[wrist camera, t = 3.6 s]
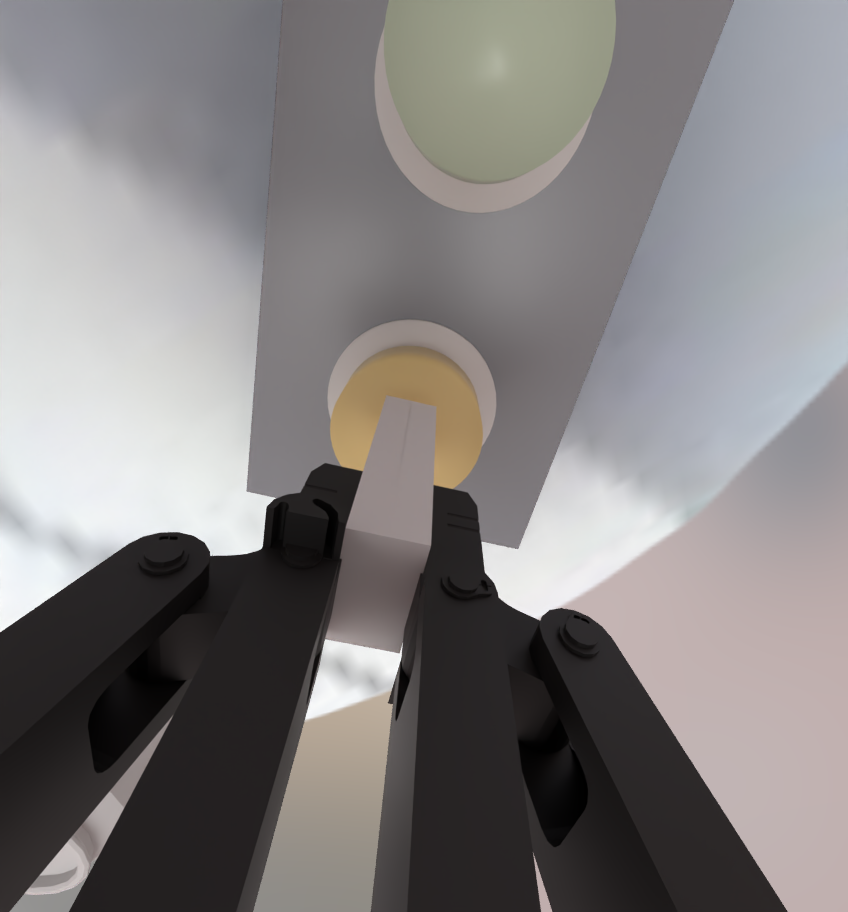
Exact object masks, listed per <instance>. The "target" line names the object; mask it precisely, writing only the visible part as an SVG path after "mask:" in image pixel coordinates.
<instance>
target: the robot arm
mask: <svg viewBox="0 0 848 912" xmlns="http://www.w3.org/2000/svg"><path fill="white" fill-rule="evenodd" d="M435 433H436V406H432V405H427V404H423V403H419V402H414V401H410V400H405V399H401V398H397V397H392V396H388V395H386V398H385V402H384V405H383V408H382V411H381V415H380V418H379V421H378V424H377V428H376V431H375V434H374V437H373V440H372V444H371V447H370V450H369V453H368V457H367V460H366V463H365V466H364V470H363V471H360V470H355V469H351V468H346V467H341V466H337V465H332V464H328V463H324V464H322V465H321V466H319V467H318V468H316V469H314V470H313V471H311V473H310V475H309V477H308V479H307V481H306V482H305V485H304V486H303V488H302V490H301V492H300V493H294V494H286V495H284V496H281V497H279V498H277V499H274V500H273V501H272V502H271V503H270V504H269V505H268V506H267V509H266V519H265V530H264V541H263V547H262V549H261V550H259V551H256V552H252V553H248V554H243V555H232V556H210V551H209V549H208V548H207V546H206V545H205V543H204V542H203V541H201V540H199V539H198V538H196V537H194V536H192V535H187V534H183V533H179V532H168V533H157V534H153V535H148V536H144V537H142V538H140V539H138V540H136V541H134V542H132V543H130V544H128V545H126V546H125V547H124V548H122V549H121V550H119V551H118V552H116V553H115V554H113V555H112V556H111V557H109V558H108V559H106V560H105V561H103V562H102V563H100V564H99V565H97V566H96V567H95V568H93V569H92V570H90V571H89V572H87V573H86V574H84V575H83V576H81V577H80V578H79V579H77V580H76V581H74V582H73V583H71V584H70V585H68V586H67V587H66V588H64V589H63V590H61V591H60V592H58V593H57V594H55V595H54V596H52V597H51V598H50V599H48V600H47V601H45V602H44V603H42V604H41V605H39V606H38V607H37V608H35V609H34V610H32V611H31V612H29V613H28V614H26V615H25V616H23V617H22V618H21V619H19V620H18V621H16V622H15V623H13V624H12V625H10V626H9V627H7V628H6V629H5V630H3V631H2V632H0V912H9V911H10V910H11V909H12V908H13V907H14V905H15V904H16V903H17V901H19V899H20V898H21V897H22V896H23V895H24V893H25V892H26V891H27V890H28V889H29V887H30V886H31V885H32V884H33V883H34V881H35V880H36V879H37V878H38V877H39V875H40V874H41V873H42V872H43V871H44V869H45V868H46V867H47V866H48V865H49V863H50V862H51V861H52V860H53V859H54V857H55V856H56V855H57V854H58V853H59V851H60V850H61V849H62V848H63V847H64V845H65V844H66V843H67V842H68V841H69V839H70V838H71V837H72V836H73V835H74V834H75V832H76V831H77V830H78V829H79V828H80V826H81V825H82V824H83V823H84V822H85V820H86V819H87V818H88V817H89V816H90V814H91V813H92V812H93V811H94V810H95V808H96V807H97V806H98V805H99V804H100V802H101V801H102V800H103V799H104V798H105V796H106V795H107V794H108V793H109V792H110V790H111V789H112V788H113V787H114V786H115V784H116V783H117V782H118V781H119V780H120V778H121V777H122V776H123V775H124V774H125V772H126V771H127V770H128V769H129V768H130V766H131V765H132V764H133V763H134V762H135V760H136V759H137V758H138V757H139V756H140V754H141V753H142V752H143V751H144V750H145V748H146V747H147V746H148V745H149V744H150V742H151V741H152V740H153V739H154V738H155V736H156V735H157V734H158V733H159V732H160V730H161V729H162V728H163V727H164V726H165V724H166V723H167V722H168V721H169V720H170V718H171V717H172V716H173V717H172V719H171V721H170V722H169V724H168V726H167V728H166V730H165V732H164V734H163V736H162V738H161V739H160V741H159V743H158V745H157V747H156V749H155V751H154V753H153V755H152V756H151V758H150V760H149V762H148V764H147V766H146V768H145V770H144V771H143V773H142V775H141V777H140V779H139V781H138V783H137V785H136V787H135V788H134V790H133V792H132V794H131V796H130V798H129V800H128V802H127V804H126V805H125V807H124V809H123V811H122V813H121V815H120V817H119V819H118V820H117V822H116V824H115V826H114V828H113V830H112V832H111V834H110V836H109V837H108V839H107V841H106V843H105V845H104V847H103V849H102V851H101V853H100V854H99V856H98V858H97V860H96V862H95V864H94V866H93V868H92V870H91V871H90V873H89V875H88V877H87V879H86V881H85V883H84V885H83V886H82V888H81V890H80V892H79V894H78V896H77V898H76V900H75V902H74V903H73V905H72V907H71V909H70V911H69V912H253V910H254V906H255V902H256V899H257V895H258V891H259V887H260V883H261V880H262V876H263V873H264V869H265V865H266V861H267V858H268V854H269V850H270V847H271V843H272V839H273V836H274V831H275V828H276V824H277V821H278V816H279V813H280V810H281V806H282V802H283V798H284V794H285V791H286V787H287V784H288V780H289V776H290V772H291V768H292V765H293V761H294V757H295V754H296V750H297V746H298V742H299V739H300V735H301V732H302V728H303V724H304V720H305V717H306V713H307V709H308V706H309V702H310V698H311V695H312V691H313V687H314V683H315V680H316V676H317V672H318V669H319V665H320V660H321V655H322V649H323V644H324V641H325V639H328V640H333V641H338V642H343V643H349V644H354V645H359V646H364V647H369V648H375V649H380V650H385V651H390V652H396V653H400V650H401V646H402V643H403V648H402V658H401V662H400V665H399V668H398V672H397V675H396V678H395V682H394V685H393V688H392V692H391V695H390V699H389V702H388V703H390V704H393V709H392V718H391V727H390V737H389V746H388V755H387V765H386V775H385V784H384V793H383V803H382V812H381V822H380V831H379V840H378V849H377V859H376V868H375V878H374V887H373V896H372V906H371V912H541V909H540V901H539V894H538V886H537V880H536V871H535V864H534V857H533V853H534V856H535V859H536V862H537V865H538V868H539V871H540V874H541V878H542V881H543V883H544V887H545V890H546V892H547V896H548V899H549V902H550V905H551V908H552V912H787V910H786V908H785V907H784V905H783V904H782V902H781V901H780V899H779V897H778V896H777V894H776V893H775V891H774V890H773V888H772V887H771V885H770V883H769V882H768V880H767V879H766V877H765V876H764V874H763V873H762V871H761V870H760V868H759V866H758V865H757V863H756V862H755V860H754V859H753V857H752V856H751V854H750V852H749V851H748V849H747V848H746V846H745V845H744V843H743V841H742V840H741V839H740V837H739V835H738V834H737V832H736V831H735V829H734V827H733V826H732V824H731V823H730V821H729V820H728V818H727V817H726V815H725V814H724V812H723V810H722V809H721V807H720V806H719V804H718V802H717V801H716V799H715V798H714V797H713V795H712V793H711V792H710V790H709V788H708V787H707V786H706V784H705V782H704V781H703V779H702V778H701V776H700V774H699V773H698V772H697V770H696V768H695V767H694V765H693V764H692V762H691V760H690V759H689V757H688V756H687V754H686V753H685V751H684V750H683V748H682V746H681V745H680V743H679V742H678V740H677V739H676V737H675V736H674V734H673V732H672V731H671V729H670V728H669V726H668V725H667V723H666V722H665V720H664V718H663V717H662V715H661V714H660V712H659V711H658V709H657V708H656V706H655V704H654V703H653V701H652V700H651V698H650V697H649V695H648V693H647V692H646V690H645V689H644V687H643V686H642V684H641V683H640V681H639V680H638V678H637V676H636V675H635V674H634V672H633V670H632V669H631V667H630V665H629V664H628V663H627V661H626V659H625V658H624V656H623V655H622V653H621V651H620V650H619V648H618V647H617V645H616V644H615V642H614V641H613V639H612V638H611V636H610V635H609V634H608V633H607V632H606V631H605V629H604V628H603V627H602V626H600V625H599V624H598V623H596V622H595V621H594V620H592V619H591V618H590V617H588V616H586V615H583V614H581V613H579V612H577V611H574V610H568V609H563V608H560V609H554V610H549V611H548V612H547V613H546V614H545V615H543V616H542V618H541V620H540V621H539V620H537V619H535V618H533V617H531V616H529V615H526V614H524V613H522V612H520V611H518V610H516V609H514V608H512V607H510V606H509V605H507V604H506V603H504V602H503V601H502V600H501V599H499V598H498V592H497V590H496V587H495V585H494V583H493V581H492V580H491V579H490V578H489V577H488V576H487V575H486V574H485V571H484V562H483V553H482V544H481V535H480V526H479V522H478V520H479V517H478V508H477V505H476V503H475V502H474V500H473V499H472V498H471V496H470V495H469V493H468V492H464V491H459V490H455V489H450V488H445V487H441V486H436V485H433V484H434V459H435Z"/></svg>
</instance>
